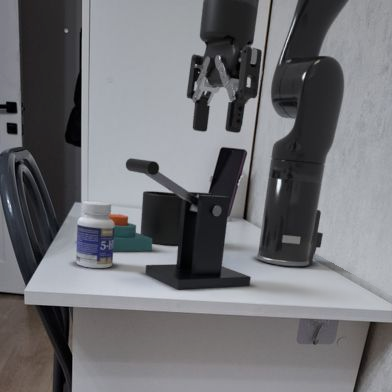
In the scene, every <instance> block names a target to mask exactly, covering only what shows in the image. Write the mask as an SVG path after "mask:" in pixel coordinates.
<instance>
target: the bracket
mask: <svg viewBox="0 0 392 392" xmlns="http://www.w3.org/2000/svg"><path fill="white" fill-rule="evenodd" d="M189 192H190V193H191V194H193V195H194V196H197V194H198V195H199V198H198V209H197V215H196V214H195V213H193V212H192V211H190V208H191V206H192V204H190V203H188V202H187V201H185V200H184V199H182V207H181V219H180V230H179V241H178V245H177V254H176V263H175V264H174V263H170V264H146V265H145V275H147V276H149V277H151V278H153V279H154V280H155V279H156V280H157V281H160V282H162V283H164V284H166V285H168V286H170V287H172V288H173V289H176V290H191V289H209V288H210V289H211V288H212V289H213V288H229V287H232V288H233V287H249V286H250V285H251V278H252V277H251V276H250V275H247V274H244V273H242V272H239V271H237V270H234V269H231V268H228V267H225V266H223V260H224V251H225V241H226V234H227V224H228V215H229V208H230V207H229V206H230V199H231V198H230V196H225V195H214V194H213V193H211V192H196V191H189Z"/></svg>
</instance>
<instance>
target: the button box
mask: <svg viewBox="0 0 392 392" xmlns="http://www.w3.org/2000/svg"><path fill="white" fill-rule="evenodd" d="M151 251H153V243H152V238H149V237H147V236H144V235H141V233H139V232H137V224H134V223H131V222H128V226H116V225H114V245H113V252H151Z"/></svg>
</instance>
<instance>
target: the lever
mask: <svg viewBox="0 0 392 392" xmlns="http://www.w3.org/2000/svg"><path fill="white" fill-rule="evenodd" d="M125 168H126V169H127V170H128V171H129V172H133V173H138V174H145V176H147V177H148V178H149V179H152V180H153V181H155V182H156V183H158V184H159V185H161V186H163V187H164V188H165V189H168V191H170V192H171V193H175V194H176V195H178V196H179V197H181V198H182V199H184V200H185V201H187V202H188V203H190V204H192V206H191V208H190V211H192V212H193V213H195V214H196V215H197V209H198V198H199V195H198V194H197V196H194V195H193V194H191V193H190V192H191V191H189V190H187V189H186V188H184V187H182V186H181V185H179V184H178V183H176V182H175V181H173V180H172V179H170V178H169V177H167V176H166V175H164V174H163V173H162V172H160V166H159V163H158V162H157V161H154V160H148V159H147V160H146V159H139V158H133V157H132V158H131V157H130V158H128V159H127V160H126V161H125Z"/></svg>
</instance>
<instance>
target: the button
mask: <svg viewBox="0 0 392 392" xmlns="http://www.w3.org/2000/svg"><path fill="white" fill-rule="evenodd" d="M109 219H111V220H112V221H113V222H114V225H116V226H128V223H129V216H128V215H123V214H116V213H115V214H113V213H112V214H110V215H109Z"/></svg>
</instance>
